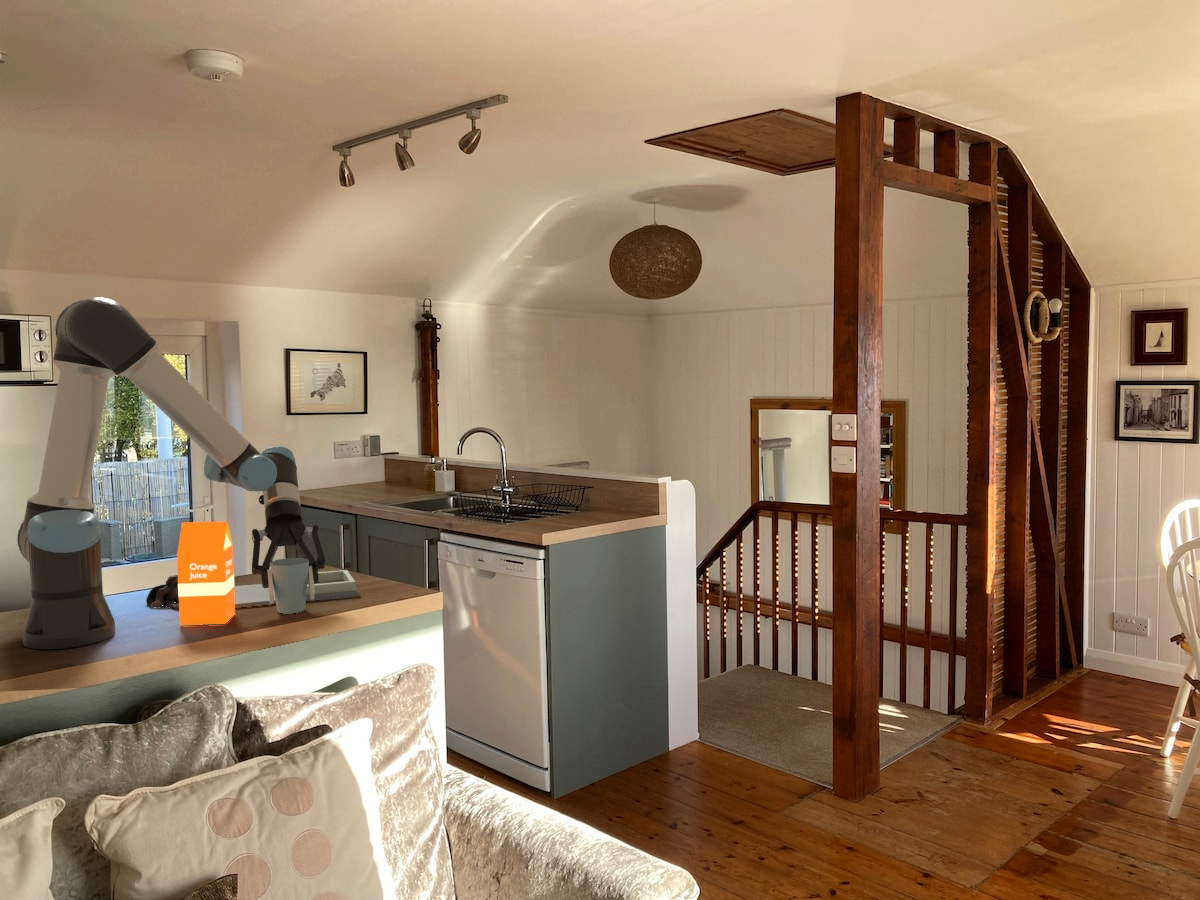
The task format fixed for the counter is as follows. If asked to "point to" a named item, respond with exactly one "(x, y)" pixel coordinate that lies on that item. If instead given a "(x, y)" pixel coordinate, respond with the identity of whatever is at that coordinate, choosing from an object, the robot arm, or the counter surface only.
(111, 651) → the counter surface
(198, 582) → the orange juice
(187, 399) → the robot arm
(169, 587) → the stuffed animal
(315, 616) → the counter surface
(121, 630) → the counter surface
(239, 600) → the board
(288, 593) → the cup
